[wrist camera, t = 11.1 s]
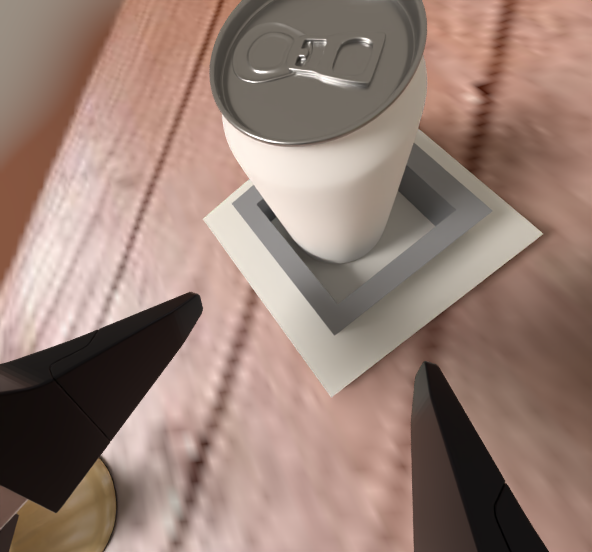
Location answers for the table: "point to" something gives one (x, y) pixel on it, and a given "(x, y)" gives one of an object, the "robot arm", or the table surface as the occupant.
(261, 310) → the table surface
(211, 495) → the table surface
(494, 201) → the socket board
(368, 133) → the can
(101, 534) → the hand bell
